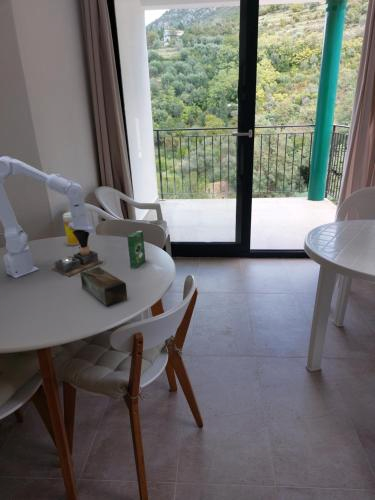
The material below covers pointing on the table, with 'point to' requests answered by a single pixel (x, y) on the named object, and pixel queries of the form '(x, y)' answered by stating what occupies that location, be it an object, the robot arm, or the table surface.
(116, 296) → the beverage carton
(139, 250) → the coffee box
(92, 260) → the socket board
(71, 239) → the beer can
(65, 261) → the aluminium plug
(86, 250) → the terracotta plug
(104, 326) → the table surface
